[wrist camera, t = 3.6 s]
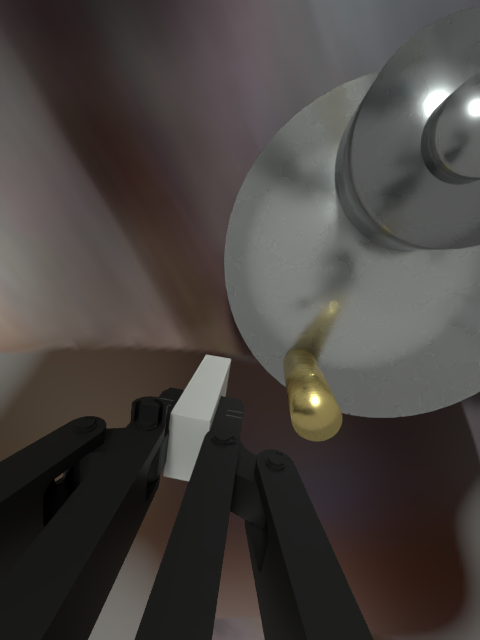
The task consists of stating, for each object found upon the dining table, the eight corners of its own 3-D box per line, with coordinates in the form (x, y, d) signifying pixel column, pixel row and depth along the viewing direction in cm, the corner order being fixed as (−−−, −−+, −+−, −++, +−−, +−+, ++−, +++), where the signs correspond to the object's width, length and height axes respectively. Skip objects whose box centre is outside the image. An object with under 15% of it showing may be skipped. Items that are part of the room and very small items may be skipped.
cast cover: (300, 180, 18) (316, 149, 12) (424, 23, 16) (508, -99, 10) (417, 282, 19) (479, 293, 13) (551, 146, 16) (691, 93, 11)
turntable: (170, 285, 22) (108, 306, 13) (379, 0, 17) (501, -267, 8) (390, 461, 24) (463, 581, 15) (638, 249, 19) (961, 245, 10)
